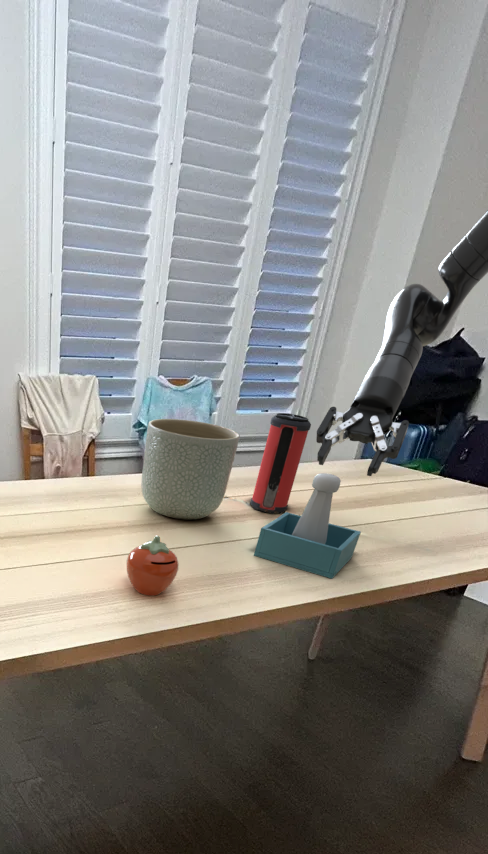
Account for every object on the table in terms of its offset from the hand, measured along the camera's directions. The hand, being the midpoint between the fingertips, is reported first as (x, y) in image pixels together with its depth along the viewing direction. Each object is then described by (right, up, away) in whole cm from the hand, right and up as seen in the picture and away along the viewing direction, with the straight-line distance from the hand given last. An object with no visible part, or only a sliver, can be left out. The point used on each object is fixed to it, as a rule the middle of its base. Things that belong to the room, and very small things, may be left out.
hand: (344, 467), depth 111 cm
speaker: (-7, 0, +23) cm, 24 cm away
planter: (-27, -3, +15) cm, 31 cm away
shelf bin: (-7, -16, 0) cm, 17 cm away
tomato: (-36, -26, -19) cm, 48 cm away
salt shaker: (-7, -15, 0) cm, 17 cm away
